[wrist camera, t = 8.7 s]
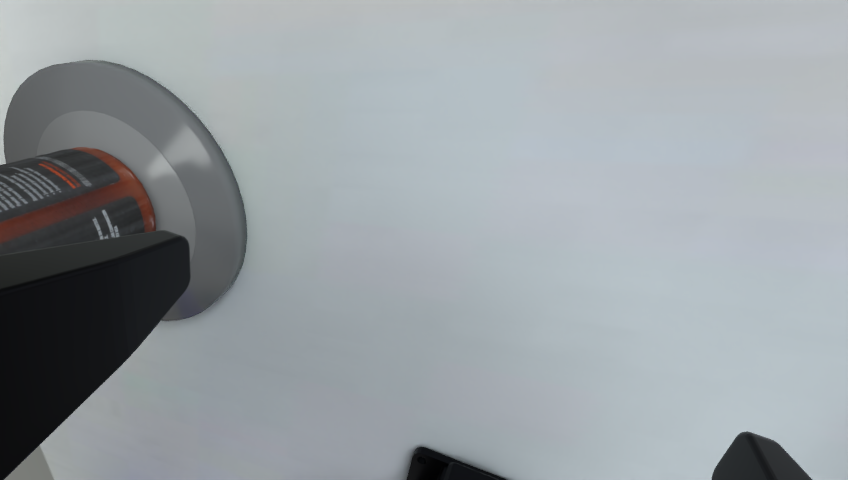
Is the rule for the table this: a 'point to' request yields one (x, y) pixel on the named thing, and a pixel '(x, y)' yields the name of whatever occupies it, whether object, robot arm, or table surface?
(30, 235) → the supplement bottle
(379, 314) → the table surface
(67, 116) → the plate
